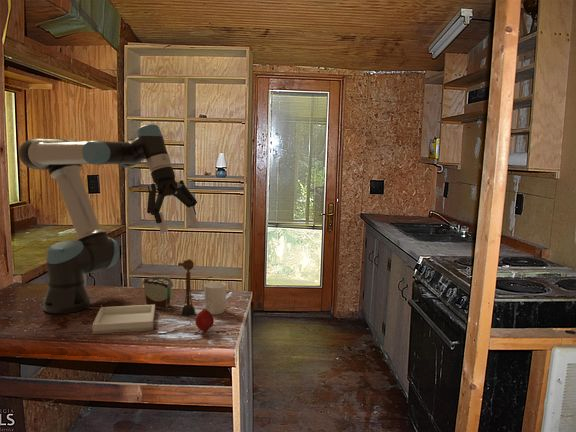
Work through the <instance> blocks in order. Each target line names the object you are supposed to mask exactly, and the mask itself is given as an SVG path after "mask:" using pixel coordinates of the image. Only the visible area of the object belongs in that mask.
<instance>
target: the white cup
mask: <svg viewBox="0 0 576 432" xmlns="http://www.w3.org/2000/svg"><path fill="white" fill-rule="evenodd" d="M203 285H204V286H203V288H204V305H205V308H206V310H207V311H209V312H210V313H211V314H212V315H220V314H223V313H224V312H225V309H226V308H225V306H226V305H225V304H226V298H227V283H225V282H224V281H223V282H222V281H208V282H206V283H204V284H203Z"/></svg>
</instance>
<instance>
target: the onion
mask: <svg viewBox="0 0 576 432" xmlns="http://www.w3.org/2000/svg"><path fill="white" fill-rule="evenodd" d="M214 319H215V317H214V316H213V314H211V313H210V312H209V311H207V310H206V307H203V308H202V310H201V311H199V312H198V314H196V317H195V320H194V321H195V325H196V327H197V328H198V329H199V330H200V331H201V332H202V333H206V332H207V331H209V330H210V329H211V328H212V327H213V325H214V322H215V321H214Z"/></svg>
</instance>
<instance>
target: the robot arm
mask: <svg viewBox="0 0 576 432" xmlns="http://www.w3.org/2000/svg"><path fill="white" fill-rule="evenodd" d="M136 133H137V136H138V137H137V138H135V139H133V140H131V141H108V140H107V141H105V140H89V141H73V140H71V139H65V138H64V139H63V138H60V139H53V138H32V139H31V138H30V139H27V140H25V141H24V142H23V143H22V144H21V145H20V146H19V150H18V156H19V160H20V161H21V163H22V164H23V165H25V166H26V167H28V168H29V169H33V170H37V171H38V170H40V171H42V170H45V171H48V173H49V176H50V178H52V179H54V180H56V182H57V185H58V188H59V190H60V193H61V196H62V199H63V201H64V203H65V206H66V207H65V208H66V209H67V212H68V215H69V217H70V220H71V224H72V225H73V228H74V231H75V234H76V236H77V237H76V239H70V240H63V241H59V242H56V243H54V244H52V245H50V246H49V247H48V249H47V250H46V258H45V259H46V264H47V265H46V266H47V282H48V287H47V291H46V295H45V297H44V301H43V311H45V312H46V313H49V314H57V315H59V314H60V315H61V314H63V315H64V314H72V313H76V312H79V311H80V312H81V311H83V310H85V309H87V308H89V307H90V306H91V297H90V295H89V292H88V290H87V287H86V285H85V275H87V274H90V273H94V272H99V271H103V270H107V269H109V268H111V267H113V266H115V264H116V263H118V259H119V257H120V247H119V244H118V242H117V241H116V240H115V239H114V238H113V237H109V236H108V233H107V232H106V230H104V229H101V227H100V225H99V221H98V219H97V216H96V214H95V211H94V208H93V206H92V204H91V200H90V198H89V195H88V192H87V190H86V189H87V188H86V186H85V184H84V182H83V179H82V177H81V171H82V169H83V165H95V166H96V165H97V166H98V165H99V166H101V165H102V166H103V165H119V166H120V167H123V168H125V169H126V168H130V167H133V166H136V165H137V164H139V163H141V162H142V161H144V160H146V164H147V167H148V169H149V171H150V172H151V173H150V175H151V178H152V182H153V183H151V184H148V186H147V189H148V199H147V206H146V212H147V214H150V215H151V216H153V217H154V220H155V222H156V225H157V224H158V228H159V231H160V234H164V233H167V232H169V230H168V226H167V223H166V219H165V218H164V214H163V211H162V212H161V208H162V206H163V202H164V200H165V197H168V196H169V197H171V196H172V197H175V198H176V199H177V200H178V201H180V202H181V204H183V205H184V206H185V207H187V208H186V213H187V216H188V219H189V222H190V224H191V225H190V226H191V227H195V226H196V225H199V222H198V219H197V212H196V209H195V206H196V205H197V204H198V201H197V199H196V198H195V196H194V195H193V194H192V193H191V191H190V190H189V189H188V188H187V186H186V185H185V182H184V180H182V179H181V180H179V181H177V180H176V173H175V171H174V168H173V166H172V161H171V159H170V156H169V153H168V151H167V146H166V143H165V141H164V140H165V139H164V136H163V133H162V131H161V129H160V127H159V126H158V124H155V123H154V124H152V123H151V124H150V123H149V124H144V125H142V126H140V127H138V129H137V132H136ZM157 191H158V192H157Z"/></svg>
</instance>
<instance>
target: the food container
mask: <svg viewBox="0 0 576 432" xmlns="http://www.w3.org/2000/svg"><path fill="white" fill-rule="evenodd" d="M142 284H144V286H143V287H144V296H145V305H154V304H155V308H156V309H162V310H168V309H169V308H170V306H171V293H172V289H173V287H174V282H173V281H172V279H171V278H170V277H166V276H150V277H145V278H143V280H142Z"/></svg>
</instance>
